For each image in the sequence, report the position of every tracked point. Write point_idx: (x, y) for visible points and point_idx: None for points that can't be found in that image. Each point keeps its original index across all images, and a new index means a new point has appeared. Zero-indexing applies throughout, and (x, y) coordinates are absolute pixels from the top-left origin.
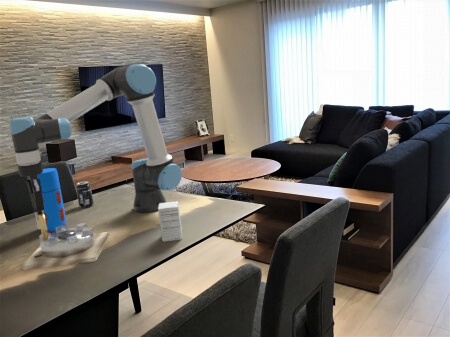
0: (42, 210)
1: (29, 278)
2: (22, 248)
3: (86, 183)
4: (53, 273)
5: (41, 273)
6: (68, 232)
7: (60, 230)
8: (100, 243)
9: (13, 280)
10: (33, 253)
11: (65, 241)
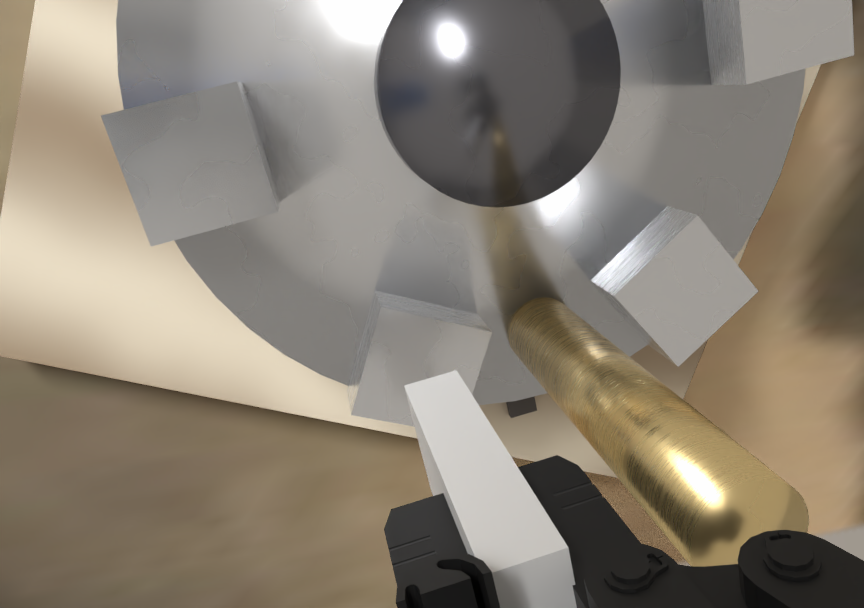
0: (564, 559)
1: (819, 395)
2: (56, 557)
3: None
4: (859, 230)
5: (793, 320)
6: (498, 51)
7: (268, 169)
8: None
9: None
10: (403, 433)
11: (683, 107)
